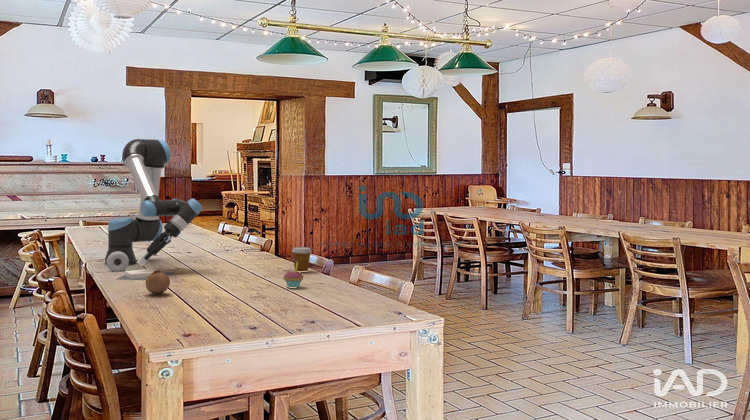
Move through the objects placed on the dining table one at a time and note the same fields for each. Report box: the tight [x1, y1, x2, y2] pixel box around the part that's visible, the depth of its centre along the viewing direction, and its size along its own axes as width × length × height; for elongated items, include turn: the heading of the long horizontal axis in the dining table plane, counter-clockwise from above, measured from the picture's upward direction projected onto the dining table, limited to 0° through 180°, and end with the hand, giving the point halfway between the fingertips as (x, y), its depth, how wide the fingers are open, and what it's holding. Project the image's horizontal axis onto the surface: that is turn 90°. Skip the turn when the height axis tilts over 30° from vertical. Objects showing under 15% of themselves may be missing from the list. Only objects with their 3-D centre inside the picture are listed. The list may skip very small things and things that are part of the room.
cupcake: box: [282, 261, 304, 287], centre depth 298 cm, size 9×8×12 cm
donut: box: [106, 251, 129, 272], centre depth 327 cm, size 10×4×10 cm, turn 114°
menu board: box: [123, 268, 155, 279], centre depth 315 cm, size 2×10×11 cm
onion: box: [144, 269, 171, 295], centre depth 276 cm, size 10×9×10 cm
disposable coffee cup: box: [291, 246, 312, 271], centre depth 340 cm, size 10×10×12 cm
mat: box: [115, 271, 175, 281], centre depth 316 cm, size 22×20×1 cm
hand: (139, 264), depth 314 cm, fingers closed
